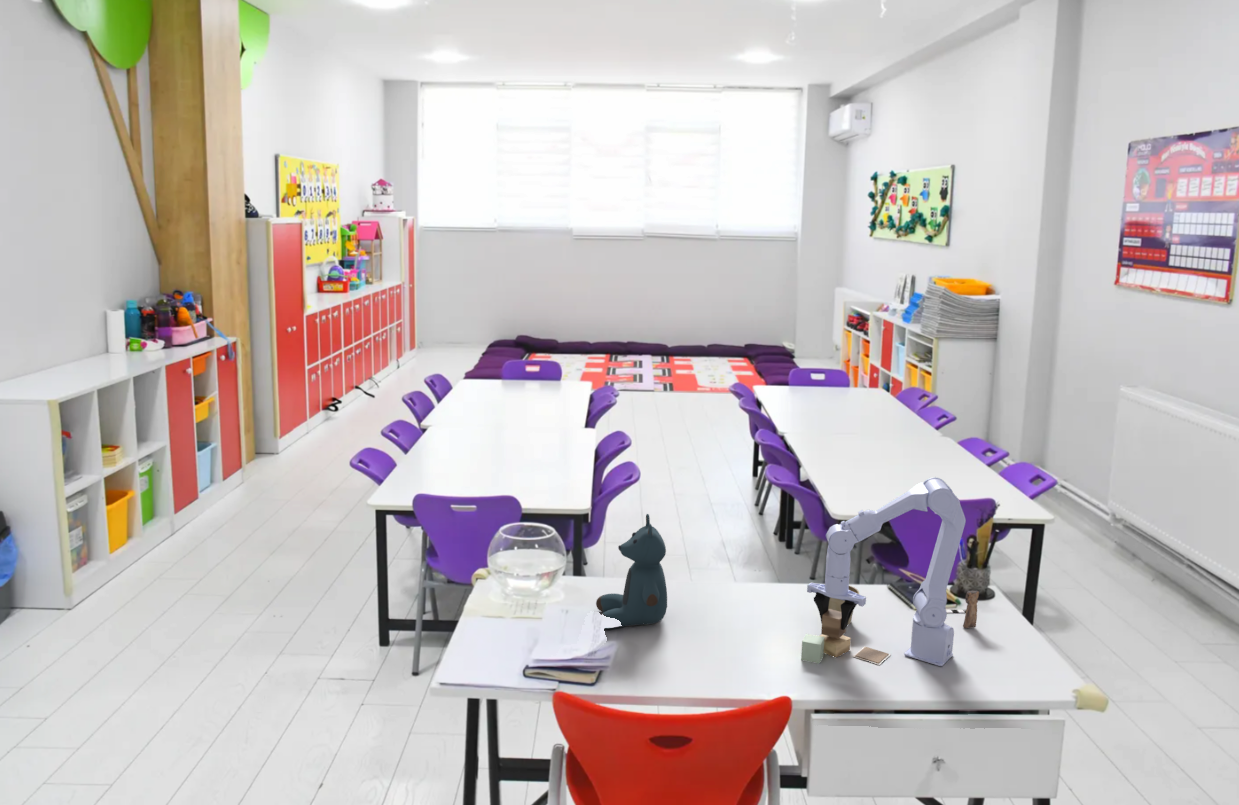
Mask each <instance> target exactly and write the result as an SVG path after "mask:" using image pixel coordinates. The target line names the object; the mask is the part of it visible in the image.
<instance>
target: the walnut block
mask: <svg viewBox="0 0 1239 805" xmlns="http://www.w3.org/2000/svg"><path fill="white" fill-rule="evenodd" d="M841 619H842V614H841V612H840V611H836V610H832V609H829V610H828V611H827V612H825V613H824V614H823V615H822V624H821V633H820V635H822V634H823V635H827V636H830V637H834V638H838V639H839V638H840V637H841V636H842V635H844V634H846V631H847V628H846V629H844V630H842V629H841Z"/></svg>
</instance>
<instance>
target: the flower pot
mask: <svg viewBox="0 0 1239 805" xmlns="http://www.w3.org/2000/svg"><path fill="white" fill-rule="evenodd" d="M848 590H850V591H853V592H855V593H857V594H859V595H860V591H859V590H858V589H857V588H855V587H854V586H852V585H849V589H848ZM844 602H845V601H844V600H840V599H836V598H831V597H830V601H829V607H828V610H829V609H832V610H836V611H840V612H841V604H842V603H844ZM853 613H854V611H853V612H852V614H851V616H850V618H849V621H848V624H847V626H848V625H850V624H851V623H852V619H853V615H854V614H853Z"/></svg>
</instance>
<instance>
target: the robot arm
mask: <svg viewBox="0 0 1239 805" xmlns="http://www.w3.org/2000/svg"><path fill="white" fill-rule="evenodd" d="M928 508H929V509H930V510H931V511H933V512H934V513H935V515H938V516H939V517H940V518H941V524H940V527H939V530H938V534H937V538H936V541H935V545H934V548H933V552H932V556H931V559H930V563H929V566H928V569H927V573H926V577H925V579H924V580H923V581H922V582H921V583H920V587H919V589H918V590H917V591H916V592H915V593H914V594H913V597H912V603H913V606H914V608H915V609H916V611H915V612H914V615H912V626H911V638H910V639H911V641H910V647H909V648H908V649H907V650H906V651H905V652H904V653H903V654H904V656H906V657H909V658H913V659H916V660H918V661H921V662H926V663H929V664H932V665H935V666H939V667H943V666H944V665H945V664H946V663H947V662H948V661H949V660H950V659H951V658H952V657H953V655H954V653H953V650H954V649H953V648H954V647H953V646H954V636H955V630H954V627H952V626H950V625H948V624H947V623H945V621H946V620H947V618H948V616H947V614H948V613H947V612H946V610H947V609H946V608H947V607H946V606H947V603H948V595H947V588H948V584H949V581H950V577H951V574H952V571H953V570H952V569H953V567H954V563H955V560H956V556H957V554H958V551H959V548H960V542H961V539H962V536H963V532H964V530H965V529H964V528H965V526H966V522H967V521H966V520H967V519H966V516H965V513H964V510H963V507H962V506H961V502H960V499H959V498H958V497H957V495H955V493H954V492H953V490H952V489H951V487H950V486H949V485H948V484H947V482H946V481H944V480H943V479H942V478H940V477H936V476H935V477H929V478H927V479H925V480H924V481H923V482H922V481H921V482H919V483H917V484H915V485H914V486H913V487H911V488H910V489H909V490H907V491H906V492H904V493H903V494H901V495H899V496H898V497H896V498H895V499H894V498H893V500H891V501H889V502H888V503H886V504H884V505H883V506H881V507H879V508H878V509H876V510H872V509H866V510H863V509H861V510H859V511H857V513H858V514H856V516H853V517H852V518H849V519H848V520H846V521H845V520H842V521H840V523H839V524H838V523H836V524H833V525H831V526H829V528H828V530H827V532H826V533H825V538H826V540H827V543H828V545H827V550H826V551H827V553H826V560H825V576H824V583H823V584H822V583H814V582H810V583H809V584H807V585H806V586H807V587H806V588H807V589H806V592H807V593H815V596H814V597H813V601H814V603H815V605H816V608H817V611H818V613H819V617H820V623H821V625H822V615H823V614H824V613H825V612H827V611H828V607H829V601H830V597H831V598H836V599H840V600H844V601H845V602H844V603H842V604H841V614H842V619H841V629H842V630H844V629H846V630H847V628H848V625H847V624H848V621H849V618H850V616H851V614H852V612H853V613H854V610H855V608H856V607H857V605H858V606H859V607H864V606H865V605H867V604H866V602H867V597H866V596H864V595H861V594H860V593H859V594H857V593H855V592H853V591H850V590H848V589H849V586H850V572H851V551H852V550H853V548H854V546H855V544H857V543H860V542H861V541H863V540H866V539H867V538H869V537H870V536H872V535H874V534H876V533H878V532H880V531H881V529H882V526H883V524H885V523H887V522H889V521H890V520H893V519H895V518H897V517H899V516H901V515H903V514H905V513H908V512H910V511H911V510H916V511H921V512H928ZM852 615H853V614H852Z"/></svg>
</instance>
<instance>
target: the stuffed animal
mask: <svg viewBox="0 0 1239 805" xmlns="http://www.w3.org/2000/svg"><path fill="white" fill-rule="evenodd" d="M650 520H651V518H650V514H649V513H646V515H645V525H644V526H642V527H640V528H639V529H638V530H637V531H636V532H632V534H631V537H630V538H629V539H628V540H627V541H625V542H624V543H621V545H617V546H618V547H617V548H618V550H619V551H620V554H621V555H622V556H623V557H626V558H628V559H629V560H631V561H633V563H632V565H631V566H630V567H629V569H628V570H627V574H626V579H625V583H624V589H623V594H620V593H605V594H603V595H599V597H597V599H596V602H595V605H596V608H597V609H598V611H600V612H601V614H603V615H604V616H606V617H610V618H615V619H617V620H619V621H620V622H621V625H622V626H623V627H628V626H637V625H638V626H639V625H640V626H641V625H643V626H644V625H652V624H656V623H659V622H660V621H662V620H663V619H664V617H665V615H666V614H667V608H668V590H667V581H666V576H665V572H664V569H663V566H662V564H661V561H663V559H664V558H665V557H666V554H667V553H666V552H667V549H666V543H665V540H664V539H663V537H662V536H661V534H660V532H659V531H658V529H657V528H655V527H654V526H653V525H652V524H651V522H650ZM602 611H603V612H602Z"/></svg>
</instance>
